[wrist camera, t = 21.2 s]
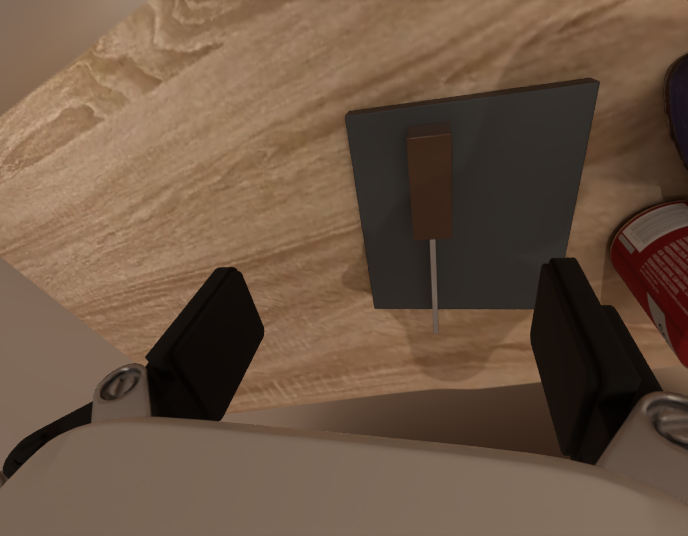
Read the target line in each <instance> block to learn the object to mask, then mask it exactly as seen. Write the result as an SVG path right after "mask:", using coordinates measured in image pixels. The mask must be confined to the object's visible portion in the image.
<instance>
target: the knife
mask: <svg viewBox="0 0 688 536" xmlns="http://www.w3.org/2000/svg"><path fill="white" fill-rule="evenodd" d="M406 143H407V157H408V171H409V185H410V199H411V213H412V228H413V240H429V239H430V262H431V285H432V308H433V332H434V334H439V329H438V290H437V259H436V239H451V238H452V132H451V126H450V121H444V122H436V123H428V124H420V125H412V126H409V128H408V133H407V138H406Z"/></svg>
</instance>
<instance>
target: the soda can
mask: <svg viewBox="0 0 688 536" xmlns="http://www.w3.org/2000/svg"><path fill="white" fill-rule="evenodd" d="M610 259H611V262H612V265H613V266H614V268H615V269H616V271H617V272H618V274H619V275H620V276H621V278H622V279H623V281H624V282H625V284H626V285H627V286H628V288H629V289H630V291H631V292H632V293H633V295H634V296H635V298H636V299H637V301H638V302H639V303H640V305H641V306H642V308H643V309H644V311H645V312H646V313H647V315H648V316H649V318H650V319H651V320H652V322H653V323H654V325H655V326H656V328H657V329H658V330H659V332H660V333H661V335H662V336H663V338H664V339H665V340H666V342H667V343H668V345H669V346H670V348H671V349H672V350H673V352H674V353H675V355H676V356H677V357H678V359H679V360H680V362H681V363H682V365H683V366H684V367H685V368H686V369H687V370H688V200H677V201H671V202H666V203H662V204H659V205H656V206H653V207H651V208H649V209H646V210H645V211H643V212H641V213H639V214H637V215H636V216H634V217H633V218H632V219H630V220H629V221H628V222H627V223H626V224H625V225H624V226H623V227H622V228H621V229H620V230H619V231H618V233H617V234H616V236H615V237H614V239H613V241H612V244H611V248H610Z"/></svg>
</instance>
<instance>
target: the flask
mask: <svg viewBox="0 0 688 536" xmlns="http://www.w3.org/2000/svg"><path fill="white" fill-rule="evenodd" d="M663 95H664V100H665V114H667V115H666V116H667V119H666V121H667V122H668V123H667V125H668V128H669V130H670V136H671V138H672V139H673V140H674V142H675V144H676V148H677V150H678V152H679V154H680V156H681V159H682V160H683V162H684V164H685V165H684V166H685V167H686V169H687V170H688V53H687V54H686V55H684V56H682V57H680V58H678V59H677V61H676V62H675V63H674V64H673V65H671V66H670V67H669V71H668V73H667V75H666V77H665V86H664V93H663Z"/></svg>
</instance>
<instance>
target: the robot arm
mask: <svg viewBox="0 0 688 536" xmlns="http://www.w3.org/2000/svg"><path fill="white" fill-rule="evenodd" d="M263 336H264V326H263V324H262V321H261V319H260V316H259V314H258V312H257V309H256V307H255V304H254V302H253V299H252V297H251V295H250V292H249V290H248V287H247V285H246V282H245V280H244V278H243V275H242V273H241V272H240V271H237V269H236V268H234V267H219V268H217V269H215V271H214V272H213V273H212V274H211V276H210V277H209V278H208V279H207V281H206V282H205V283H204V284H203V286H202V287H201V288H200V289H199V291H198V292H197V293H196V294H195V296H194V297H193V298H192V299H191V300H190V302H189V303H188V304H187V305H186V307H185V308H184V309H183V310H182V312H181V313H180V314H179V315H178V317H177V318H176V319H175V320H174V322H173V323H172V324H171V325H170V327H169V328H168V329H167V330H166V332H165V333H164V334H163V335H162V337H161V338H160V339H159V340H158V342H157V343H156V344H155V345H154V347H153V348H152V349H151V350H150V352H149V353H148V354H147V355H146V357H145V358H146V359H147V360H148V362H149V363H148V364H147V365H146V367H145V366H143V365H142V364H138V363H133V364H127V365H125V366H122V367H120V368H118V369H116V370H114V371H112V372H111V373H110V374H109V375H107V376H106V377H105V378H104V379H103V380H102V381H101V382H100V383H99V385H98V386H97V388H96V389H95V392H94V396H93V401H92V402H90V403H89V404H87V405H85V406H83V407H81V408H79V409H77V410H75V411H74V412H71V413H70V414H68V415H66V416H64V417H62V418H60V419H58V420H56V421H54V422H53V423H51V424H49V425H47V426H45V427H43V428H41V429H39V430H38V431H36V432H34V433H32V434H31V435H29V436H28V437H26V438H25V439H23V440H22V441H21V442H20V443H19V444H18V445H17V446H16V447H15V448H14V449H13V450H12V451H11V453H10V454H9V456H8V457H7V459H6V460H5V463H4V466H3V470H2V471H0V536H688V396H685V395H683V394H679V393H673V392H669V391H663V390H662V388H661V387H660V384H659V383H658V381H657V379H656V378H655V376H654V374H653V372H652V371H651V369H650V367H649V365H648V364H647V362H646V360H645V359H644V357H643V355H642V353H641V352H640V350H639V348H638V346H637V345H636V343H635V341H634V340H633V338H632V336H631V334H630V333H629V331H628V329H627V327H626V326H625V324H624V322H623V321H622V319H621V317H620V315H619V314H618V312H617V311H616V309H615V308H614V307H612V306H611V305H601V304H600V302H599V300H598V298H597V297H596V295H595V293H594V291H593V289H592V287H591V285H590V284H589V282H588V280H587V278H586V276H585V274H584V272H583V271H582V269H581V267H580V265H579V263H578V261H577V260H576V258H574V257H572V258H551V259H550V261H549V263H544V264H542V266H541V271H540V277H539V283H538V289H537V295H536V301H535V308H534V314H533V320H532V326H531V332H530V339H531V345H532V349H533V353H534V356H535V360H536V363H537V367H538V371H539V374H540V378H541V381H542V385H543V389H544V392H545V396H546V399H547V403H548V407H549V410H550V414H551V417H552V421H553V425H554V428H555V432H556V436H557V439H558V443H559V446H560V450H561V452H562V454H563V455H566V456H570V458H571V460H568V459H563V458H557V457H550V456H544V455H538V454H531V453H523V452H515V451H507V450H498V449H490V448H481V447H473V446H464V445H455V444H444V443H435V442H426V441H416V440H405V439H396V438H385V437H376V436H365V435H356V434H345V433H335V432H325V431H315V430H305V429H294V428H284V427H273V426H262V425H251V424H240V423H229V422H219V421H220V420H221V419H222V418H223V416H224V414H225V412H226V410H227V408H228V406H229V404H230V402H231V400H232V398H233V396H234V394H235V392H236V390H237V388H238V386H239V385H240V383H241V381H242V379H243V377H244V375H245V373H246V371H247V369H248V367H249V365H250V363H251V361H252V359H253V357H254V355H255V353H256V351H257V349H258V347H259V345H260V343H261V341H262V339H263Z"/></svg>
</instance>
